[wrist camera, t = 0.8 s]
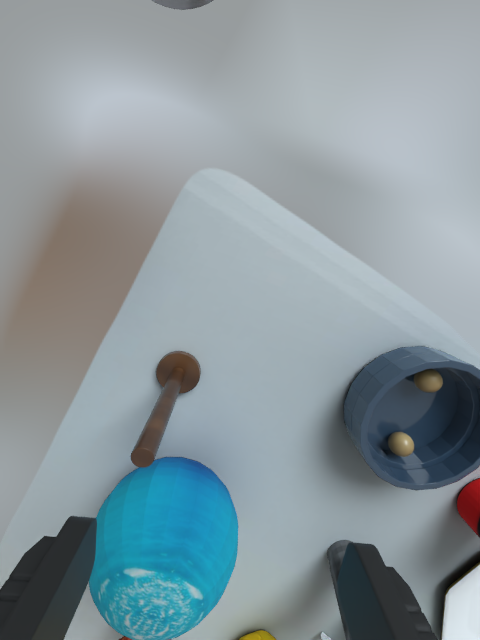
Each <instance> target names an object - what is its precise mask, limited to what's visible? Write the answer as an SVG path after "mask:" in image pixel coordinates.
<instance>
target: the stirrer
mask: <svg viewBox="0 0 480 640" xmlns="http://www.w3.org/2000/svg"><path fill="white" fill-rule="evenodd" d="M200 374H201V370H200V365H199V363H198V361H197V360H196V359H195V358H194V357H193V356H192V355H191V354H189V353H186V352H183V351H174V352H171V353H169V354H167V355H165V356H164V357H163V358H162V359H161V361H160V362H159V364H158V367H157V378H158V381H159V383H160V384H161V386H162V387H163V390H162V392H161V394H160V396H159V398H158V400H157V402H156V404H155V406H154V408H153V410H152V412H151V414H150V417H149V419H148V421H147V423H146V425H145V427H144V429H143V431H142V433H141V435H140V437H139V439H138V441H137V443H136V445H135V447H134V449H133V451H132V453H131V461H132V462H133V464H134V465H136V466H138V467H142V468H144V467H148V466H150V465H151V464H152V463H153V461H154V459H155V456H156V453H157V451H158V448H159V445H160V443H161V440H162V437H163V434H164V432H165V429H166V426H167V423H168V421H169V418H170V415H171V413H172V410H173V407H174V404H175V402H176V399H177V396H178V393H185V392H188V391H190V390H192V389H193V388H194V387H195V386H196V385H197V383H198V381H199V378H200Z"/></svg>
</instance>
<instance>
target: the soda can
mask: <svg viewBox="0 0 480 640" xmlns="http://www.w3.org/2000/svg"><path fill="white" fill-rule="evenodd" d="M457 508H458V512H459V514H460V516H461V517H462V518H463V519H464V520H465V522H466V523H467V524H468V525H469V526H470V527H471V528H472V530H473V531H474V532H475V533H476V534H477V535H478V536H479V538H480V478H479V479H476V480H474V481H472V482H470V483H469V484H467V485H466V486H465V487H464V488H463V489H462V490H461V492H460V494H459V496H458V499H457Z"/></svg>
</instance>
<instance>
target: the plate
mask: <svg viewBox="0 0 480 640" xmlns="http://www.w3.org/2000/svg"><path fill="white" fill-rule="evenodd" d="M441 640H480V562H478V563H477V564H476V565H475V566H474V567H472V568H471V569H470V570H469V571H467V572H466V573H465V574H464V575H463V576H461V577H460V578H459V579H458V580H456V581H455V582H454V583H453V584H452V585H450V586H449V587H448V589H447V591H446V592H445V597H444V608H443V620H442V631H441Z"/></svg>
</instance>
